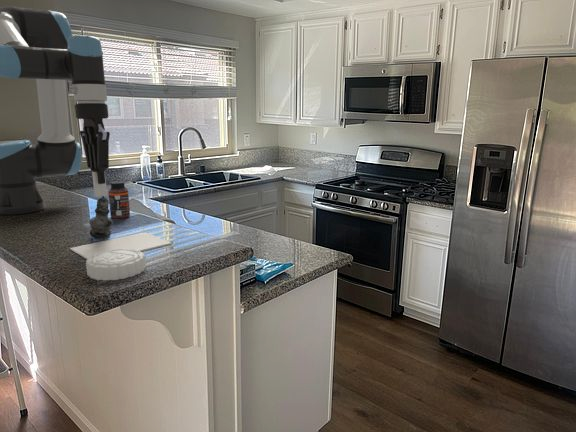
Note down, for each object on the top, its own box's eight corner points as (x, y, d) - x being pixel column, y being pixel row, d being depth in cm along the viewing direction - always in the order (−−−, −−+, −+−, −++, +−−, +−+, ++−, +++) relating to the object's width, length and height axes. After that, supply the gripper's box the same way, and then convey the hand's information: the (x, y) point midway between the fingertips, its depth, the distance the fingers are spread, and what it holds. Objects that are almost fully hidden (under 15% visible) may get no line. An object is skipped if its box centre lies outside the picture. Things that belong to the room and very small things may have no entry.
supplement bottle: (123, 219, 140) (120, 184, 137) (106, 218, 141) (103, 183, 138) (133, 215, 145) (130, 180, 143) (117, 214, 146) (114, 180, 144)
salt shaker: (84, 229, 120) (87, 192, 114) (105, 224, 124) (109, 188, 118) (94, 241, 117) (97, 204, 111) (115, 236, 121) (119, 200, 115)
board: (70, 249, 110) (70, 248, 110) (145, 233, 124) (144, 232, 124) (93, 263, 100) (92, 261, 100) (171, 244, 114) (171, 242, 114)
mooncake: (74, 277, 93) (72, 261, 92) (114, 259, 104) (112, 244, 103) (120, 284, 89) (118, 268, 88) (157, 265, 100) (156, 250, 99)
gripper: (65, 103, 112) (76, 194, 118) (85, 102, 103) (96, 201, 109) (95, 103, 117) (104, 191, 123) (117, 102, 108) (126, 197, 114)
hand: (101, 195), depth 116 cm, fingers closed
